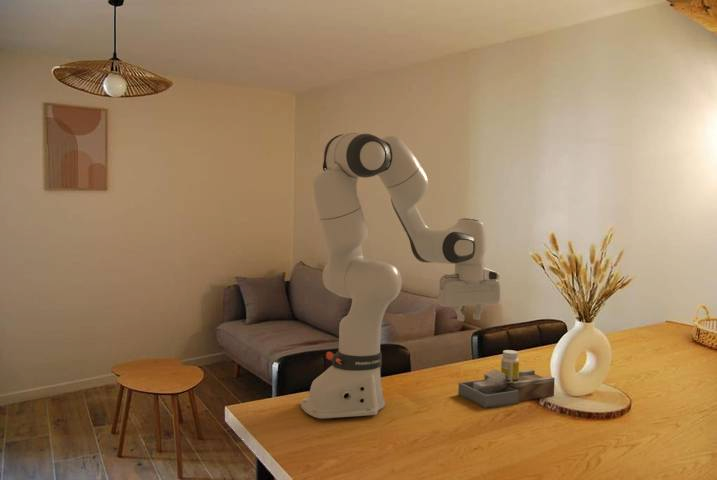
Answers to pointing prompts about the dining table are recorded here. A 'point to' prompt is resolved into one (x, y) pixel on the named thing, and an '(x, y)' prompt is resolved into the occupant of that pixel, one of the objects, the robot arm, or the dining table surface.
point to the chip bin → (491, 400)
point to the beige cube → (484, 387)
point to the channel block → (533, 385)
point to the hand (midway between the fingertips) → (468, 320)
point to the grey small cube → (496, 379)
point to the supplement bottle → (510, 366)
